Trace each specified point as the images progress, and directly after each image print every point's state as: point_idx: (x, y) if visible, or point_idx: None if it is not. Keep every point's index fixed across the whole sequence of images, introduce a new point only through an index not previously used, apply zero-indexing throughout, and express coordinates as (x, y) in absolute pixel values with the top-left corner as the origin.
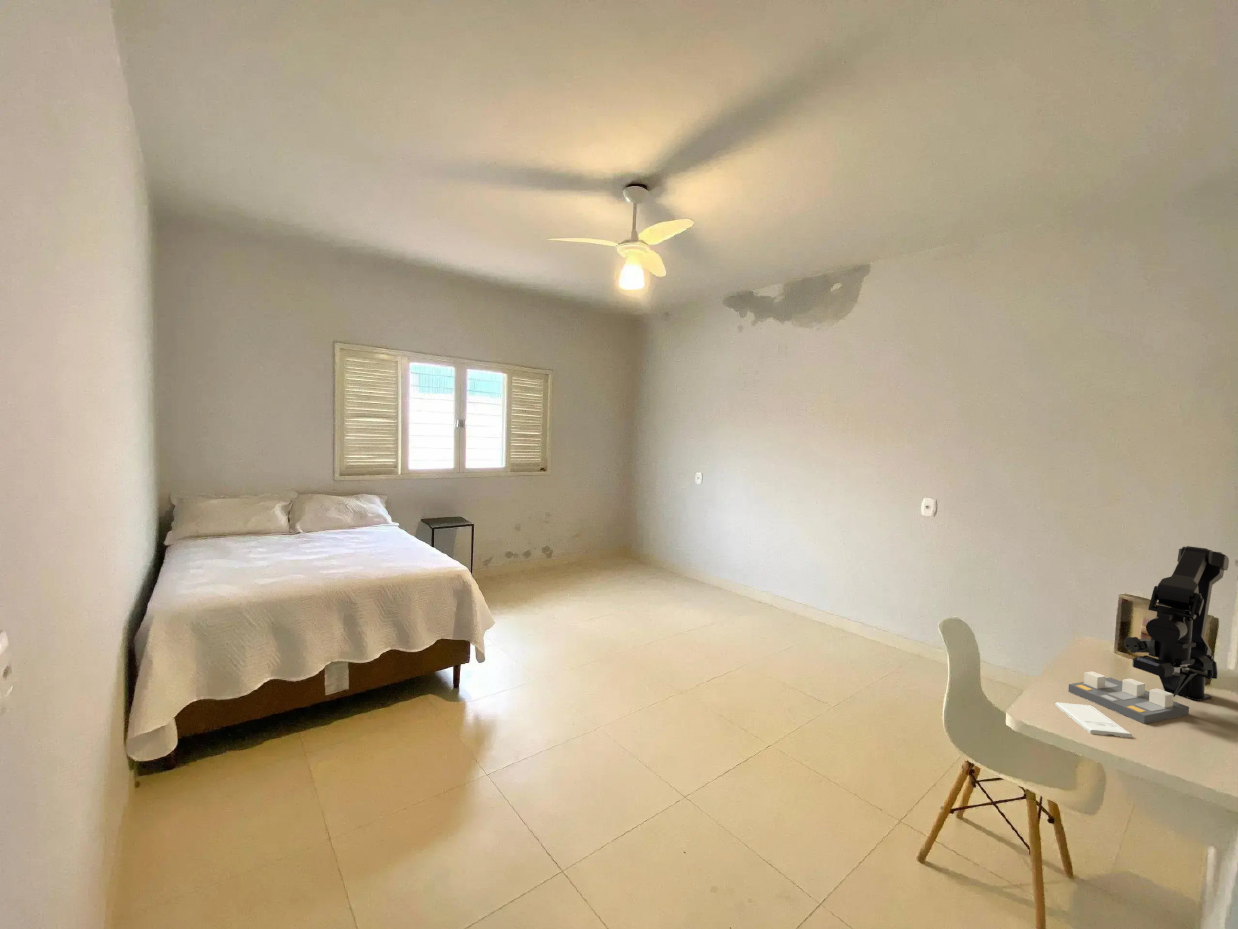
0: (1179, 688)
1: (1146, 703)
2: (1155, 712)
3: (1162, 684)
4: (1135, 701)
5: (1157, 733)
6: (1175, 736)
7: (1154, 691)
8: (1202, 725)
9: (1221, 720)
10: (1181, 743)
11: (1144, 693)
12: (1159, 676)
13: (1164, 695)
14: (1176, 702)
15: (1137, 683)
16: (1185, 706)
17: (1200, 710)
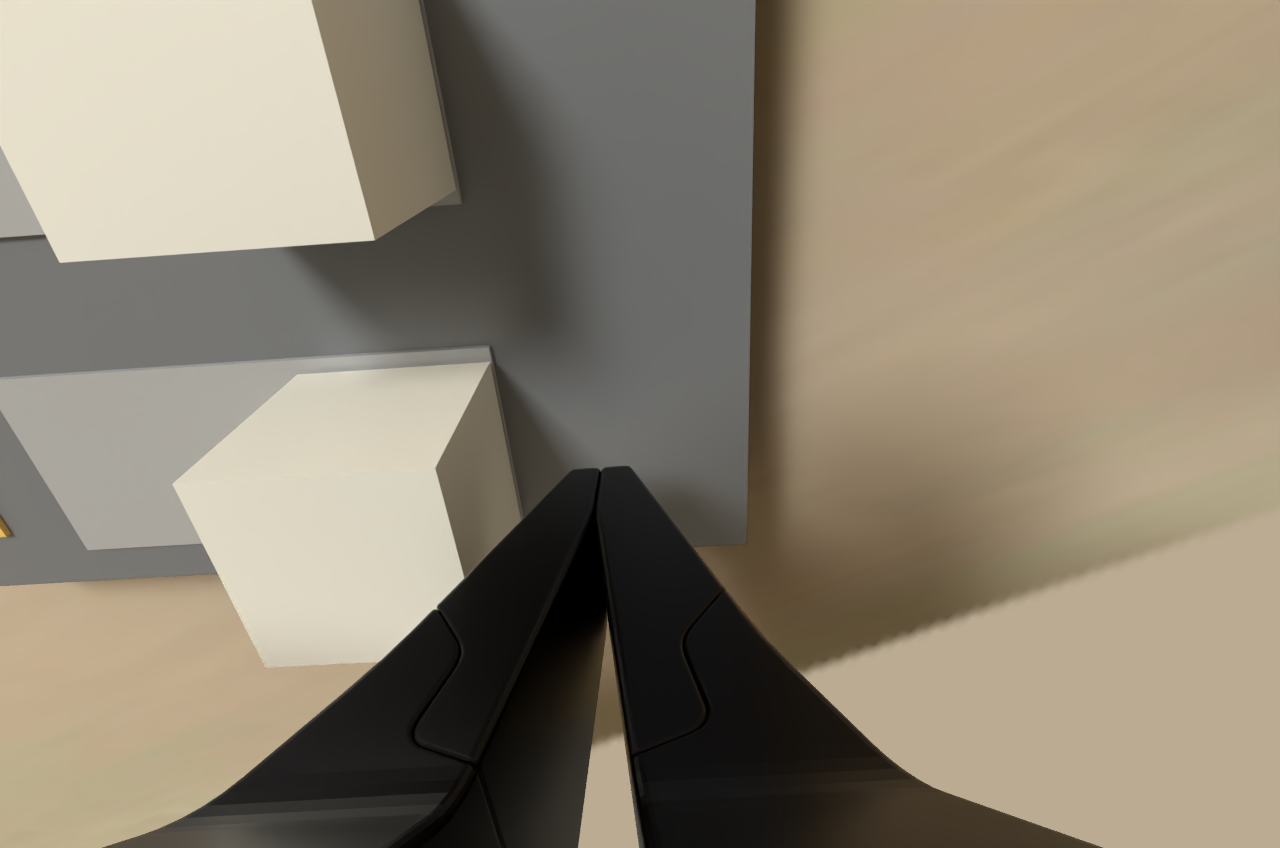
0: (624, 739)
1: (212, 398)
2: (120, 569)
3: (460, 585)
4: (94, 312)
5: (3, 642)
6: (136, 688)
7: (212, 544)
8: (607, 623)
9: (925, 597)
10: (90, 745)
11: (441, 197)
12: (276, 762)
13: (263, 657)
14: (731, 444)
15: (155, 188)
16: (709, 534)
17: (1023, 436)
